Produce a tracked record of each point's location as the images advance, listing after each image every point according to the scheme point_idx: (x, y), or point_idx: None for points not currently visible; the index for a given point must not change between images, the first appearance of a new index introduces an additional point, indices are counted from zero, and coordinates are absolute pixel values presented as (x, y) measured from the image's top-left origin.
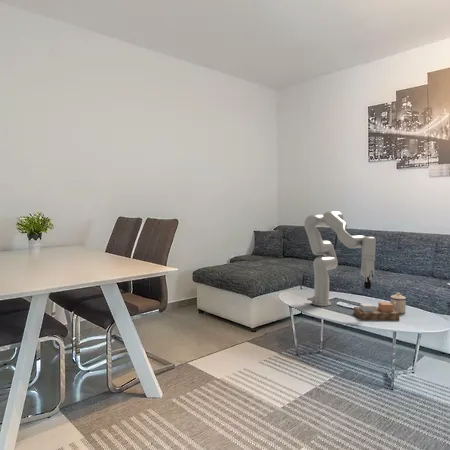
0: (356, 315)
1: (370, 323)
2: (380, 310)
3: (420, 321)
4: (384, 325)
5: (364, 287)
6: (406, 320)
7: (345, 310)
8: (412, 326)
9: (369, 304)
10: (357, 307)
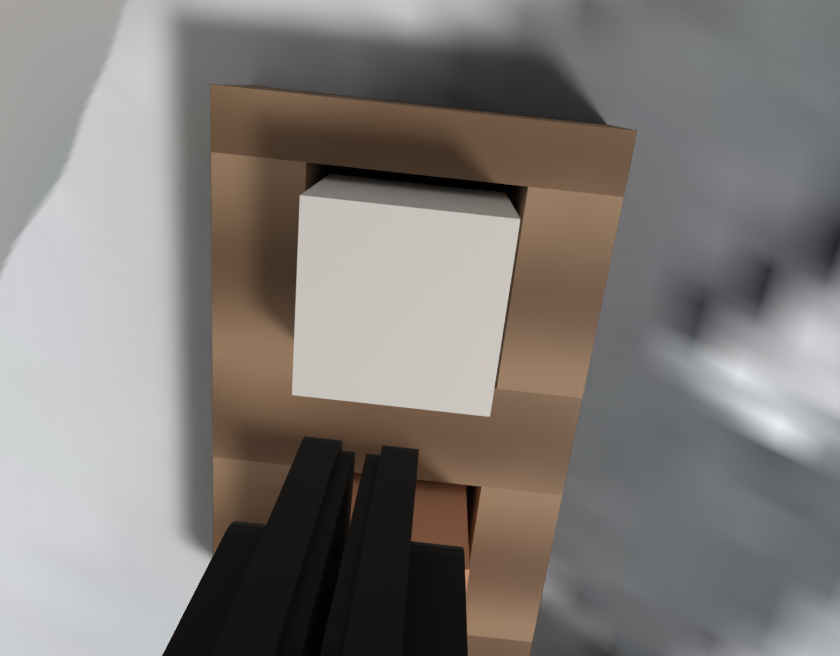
0: (467, 109)
1: (90, 155)
2: None
3: None
4: (18, 306)
5: (402, 455)
6: None
7: (816, 58)
8: (16, 588)
9: (417, 371)
10: (595, 191)
